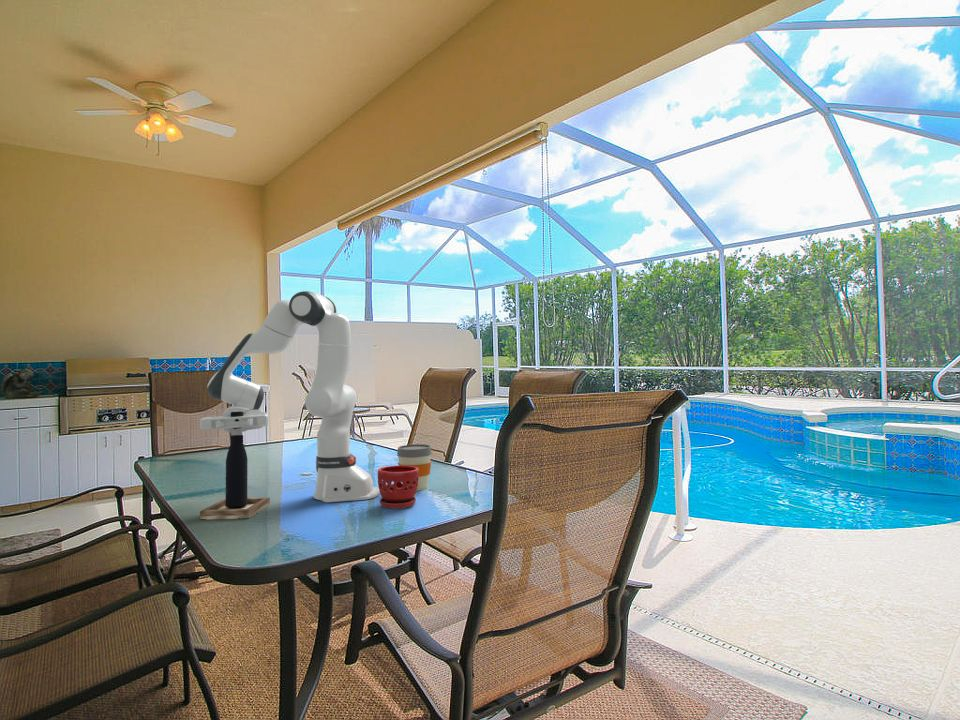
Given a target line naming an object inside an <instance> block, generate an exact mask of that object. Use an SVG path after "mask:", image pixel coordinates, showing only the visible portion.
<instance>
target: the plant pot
mask: <svg viewBox="0 0 960 720" xmlns="http://www.w3.org/2000/svg"><path fill="white" fill-rule="evenodd" d="M418 480H419V469H418V468H417V467H414V466H398V465H388V466H382V467H380V468H378V470H377V485H378V486H377V487H378V488H379V491H380V493H379V494H380V496H381V498H380V499H379V503H380V505H381V506H382V507H384V508H386V509H387V508H388V509H390V510H392V509H405V508H409V507H411V506H413V505H414V504H416V501H417V498H416V497H415V495H416V494H417V492H418V491H417V487H418ZM392 482H393V483H392ZM402 483H403V484H402Z"/></svg>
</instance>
